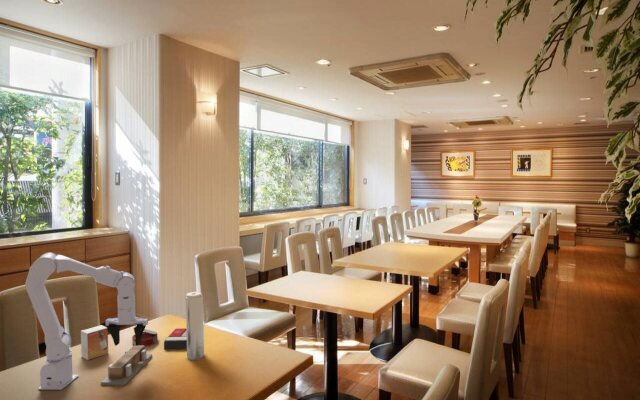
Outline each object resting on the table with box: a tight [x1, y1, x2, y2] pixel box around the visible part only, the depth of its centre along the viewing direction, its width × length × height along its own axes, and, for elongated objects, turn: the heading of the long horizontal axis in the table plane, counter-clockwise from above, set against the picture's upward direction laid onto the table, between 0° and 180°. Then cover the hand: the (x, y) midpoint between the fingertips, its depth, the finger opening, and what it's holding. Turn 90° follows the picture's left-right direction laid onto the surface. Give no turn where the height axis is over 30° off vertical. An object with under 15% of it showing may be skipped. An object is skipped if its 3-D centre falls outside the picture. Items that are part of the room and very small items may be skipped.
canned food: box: [131, 325, 158, 347], centre depth 174 cm, size 11×10×10 cm
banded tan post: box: [109, 345, 146, 379], centre depth 149 cm, size 18×4×4 cm, turn 179°
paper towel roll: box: [185, 291, 205, 361], centre depth 159 cm, size 6×6×25 cm
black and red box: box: [163, 327, 187, 351], centre depth 174 cm, size 11×4×15 cm
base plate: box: [100, 349, 153, 386], centre depth 149 cm, size 22×8×4 cm, turn 179°
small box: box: [80, 324, 109, 361], centre depth 161 cm, size 8×6×10 cm
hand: (127, 344), depth 149 cm, fingers open, 7 cm apart
